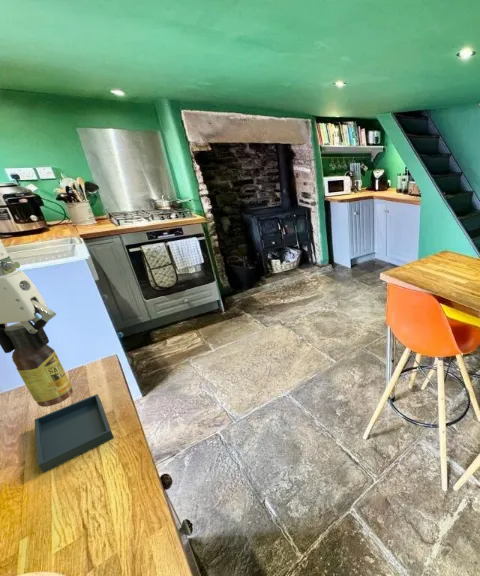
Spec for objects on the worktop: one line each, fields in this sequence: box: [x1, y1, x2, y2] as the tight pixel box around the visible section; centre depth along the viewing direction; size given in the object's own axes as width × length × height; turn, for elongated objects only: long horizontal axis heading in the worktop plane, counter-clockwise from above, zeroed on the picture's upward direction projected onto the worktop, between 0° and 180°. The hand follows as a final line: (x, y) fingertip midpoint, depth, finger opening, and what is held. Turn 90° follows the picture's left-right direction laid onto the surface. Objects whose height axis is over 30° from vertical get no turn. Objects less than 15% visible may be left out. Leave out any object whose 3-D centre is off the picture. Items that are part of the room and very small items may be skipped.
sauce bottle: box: [4, 322, 74, 408], centre depth 67 cm, size 7×6×20 cm
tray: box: [34, 393, 115, 473], centre depth 76 cm, size 18×12×2 cm
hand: (27, 346), depth 65 cm, fingers closed on sauce bottle, 4 cm apart
